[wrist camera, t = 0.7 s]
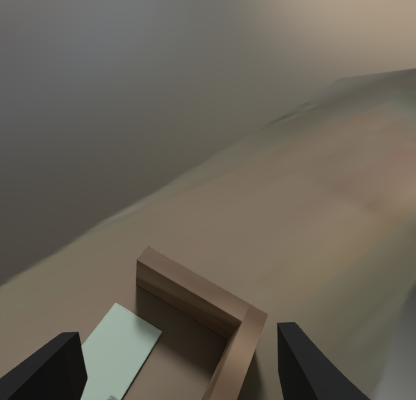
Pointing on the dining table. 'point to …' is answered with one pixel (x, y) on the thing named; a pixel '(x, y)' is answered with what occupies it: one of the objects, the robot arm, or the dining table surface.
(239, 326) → the corner fence
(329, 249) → the dining table surface
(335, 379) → the robot arm
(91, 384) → the pose pad
